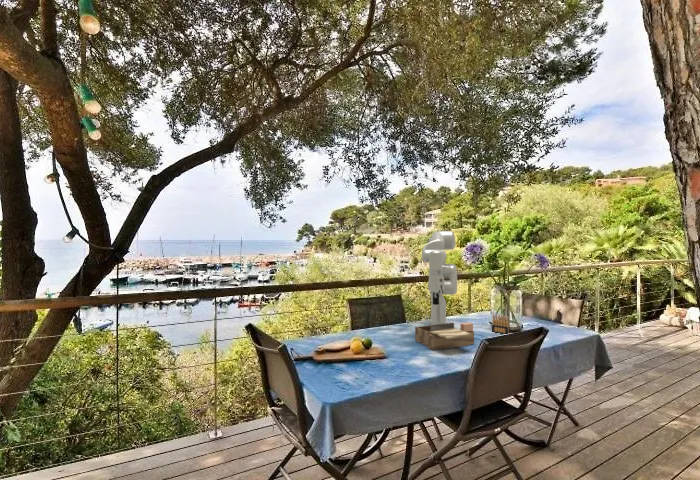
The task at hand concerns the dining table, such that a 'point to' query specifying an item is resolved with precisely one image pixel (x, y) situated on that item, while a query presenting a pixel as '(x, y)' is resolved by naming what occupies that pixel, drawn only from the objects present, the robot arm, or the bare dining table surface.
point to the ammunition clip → (500, 325)
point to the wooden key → (466, 327)
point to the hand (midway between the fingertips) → (435, 304)
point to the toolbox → (440, 339)
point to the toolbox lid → (448, 331)
